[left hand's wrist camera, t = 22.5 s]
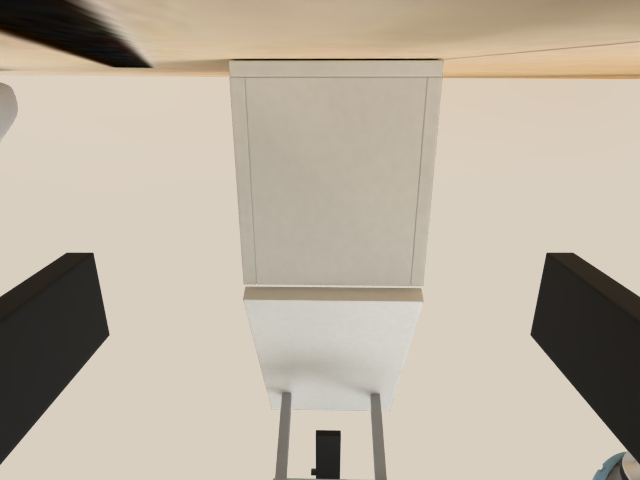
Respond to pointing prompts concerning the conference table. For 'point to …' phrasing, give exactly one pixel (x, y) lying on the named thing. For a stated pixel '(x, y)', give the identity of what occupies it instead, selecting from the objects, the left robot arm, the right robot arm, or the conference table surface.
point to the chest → (335, 169)
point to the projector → (7, 108)
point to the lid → (332, 352)
